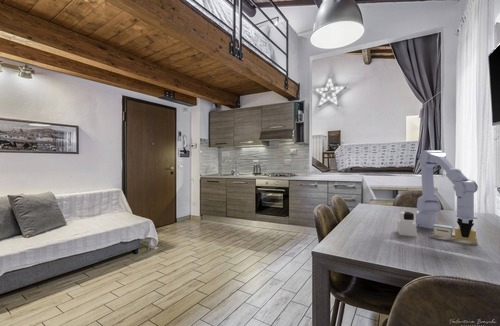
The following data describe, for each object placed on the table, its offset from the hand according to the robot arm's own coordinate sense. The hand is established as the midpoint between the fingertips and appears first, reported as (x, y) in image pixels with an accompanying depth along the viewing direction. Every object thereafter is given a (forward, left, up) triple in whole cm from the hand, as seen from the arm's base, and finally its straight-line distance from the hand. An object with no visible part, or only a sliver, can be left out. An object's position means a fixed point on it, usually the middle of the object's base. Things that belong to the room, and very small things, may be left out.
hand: (465, 235), depth 107 cm
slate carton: (-8, 0, -2) cm, 8 cm away
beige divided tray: (-4, +5, -3) cm, 7 cm away
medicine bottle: (-22, -5, -4) cm, 23 cm away
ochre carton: (0, 0, -2) cm, 2 cm away
